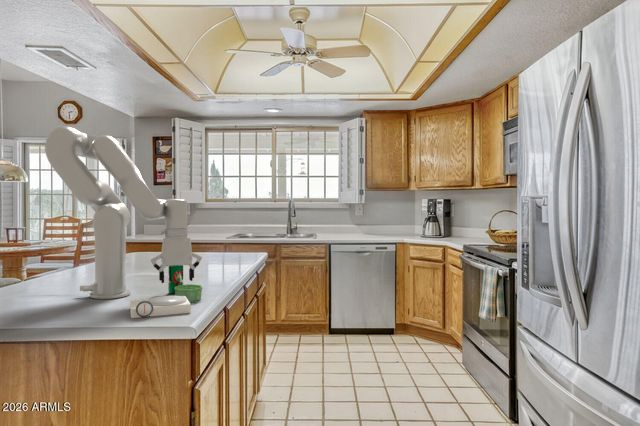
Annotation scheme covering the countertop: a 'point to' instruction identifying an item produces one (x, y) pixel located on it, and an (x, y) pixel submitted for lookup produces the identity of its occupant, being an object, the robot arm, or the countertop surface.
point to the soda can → (174, 278)
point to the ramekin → (189, 291)
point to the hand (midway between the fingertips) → (176, 281)
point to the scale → (159, 306)
